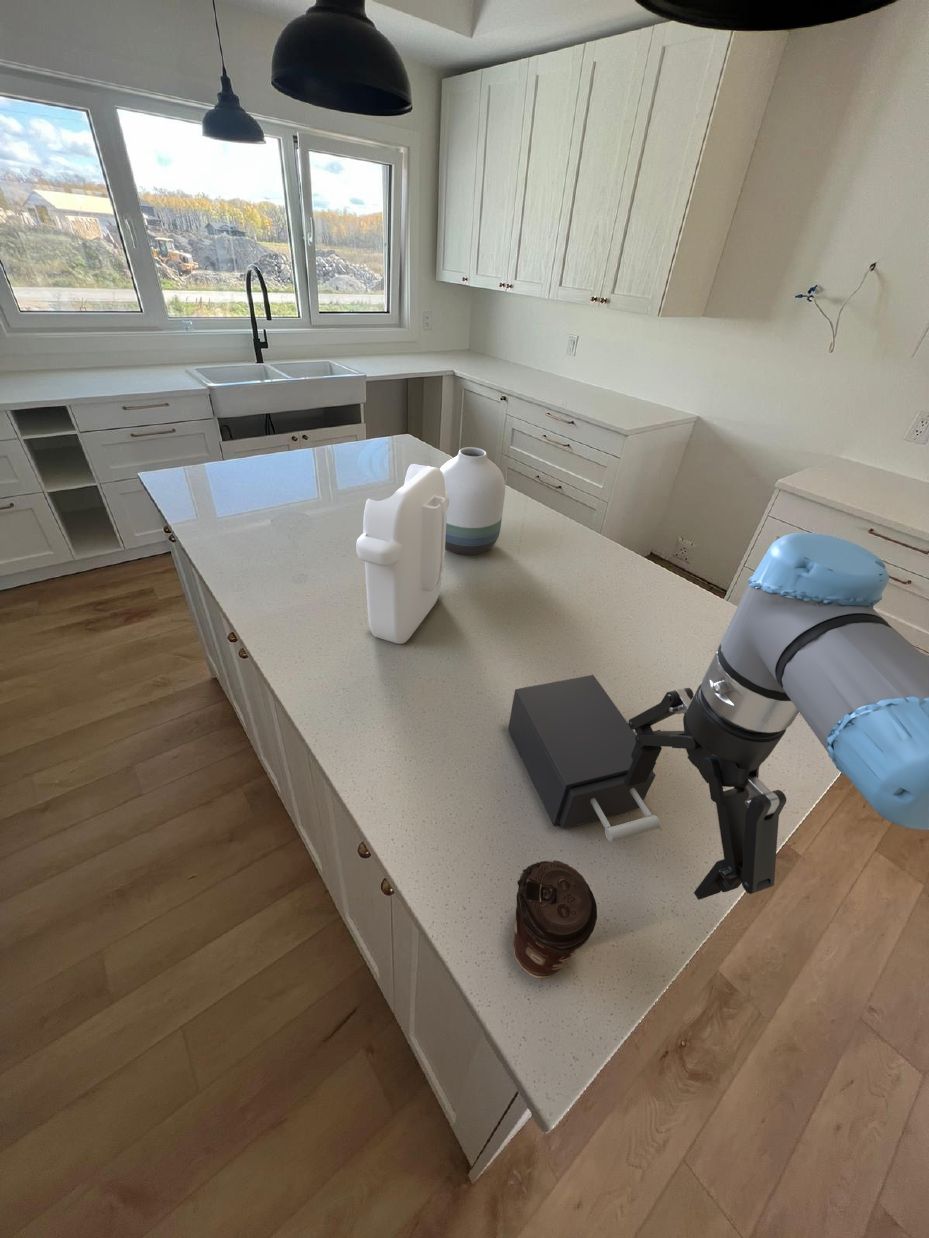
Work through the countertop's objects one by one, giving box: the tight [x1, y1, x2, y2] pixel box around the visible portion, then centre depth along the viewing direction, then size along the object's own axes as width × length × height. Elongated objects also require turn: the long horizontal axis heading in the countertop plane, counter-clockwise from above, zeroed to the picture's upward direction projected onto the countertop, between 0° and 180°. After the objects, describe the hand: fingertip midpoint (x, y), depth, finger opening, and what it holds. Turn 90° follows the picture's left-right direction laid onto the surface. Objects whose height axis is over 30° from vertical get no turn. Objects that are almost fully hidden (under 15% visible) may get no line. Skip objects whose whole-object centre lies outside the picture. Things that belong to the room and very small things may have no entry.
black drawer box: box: [507, 674, 657, 827], centre depth 77 cm, size 18×14×10 cm
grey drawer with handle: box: [559, 769, 661, 843], centre depth 74 cm, size 22×12×8 cm, turn 18°
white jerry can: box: [355, 463, 449, 645], centre depth 98 cm, size 27×11×30 cm, turn 160°
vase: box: [439, 446, 506, 555], centre depth 125 cm, size 17×17×24 cm
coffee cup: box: [512, 860, 598, 979], centre depth 56 cm, size 9×8×13 cm
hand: (667, 832), depth 58 cm, fingers open, 13 cm apart
